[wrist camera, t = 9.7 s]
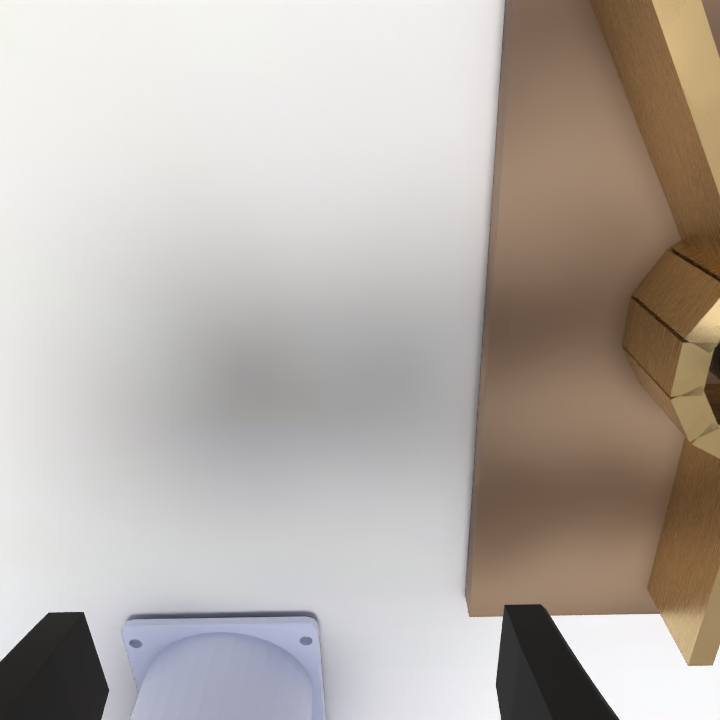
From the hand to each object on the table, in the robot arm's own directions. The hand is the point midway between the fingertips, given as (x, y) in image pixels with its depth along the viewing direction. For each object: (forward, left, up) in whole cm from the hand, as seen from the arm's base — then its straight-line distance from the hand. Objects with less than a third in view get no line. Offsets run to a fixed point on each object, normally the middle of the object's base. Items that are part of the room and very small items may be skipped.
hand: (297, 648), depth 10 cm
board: (+1, -10, -10) cm, 15 cm away
